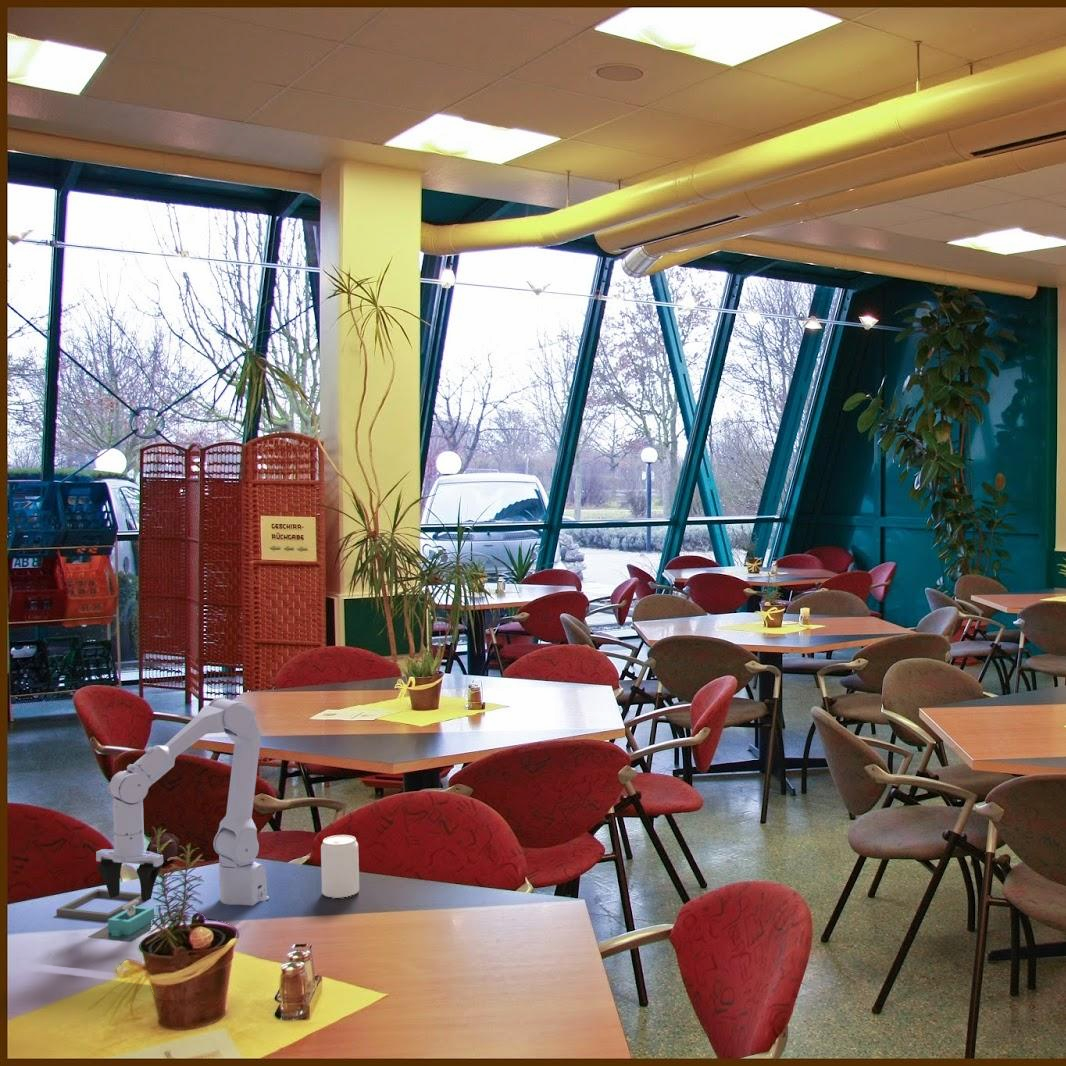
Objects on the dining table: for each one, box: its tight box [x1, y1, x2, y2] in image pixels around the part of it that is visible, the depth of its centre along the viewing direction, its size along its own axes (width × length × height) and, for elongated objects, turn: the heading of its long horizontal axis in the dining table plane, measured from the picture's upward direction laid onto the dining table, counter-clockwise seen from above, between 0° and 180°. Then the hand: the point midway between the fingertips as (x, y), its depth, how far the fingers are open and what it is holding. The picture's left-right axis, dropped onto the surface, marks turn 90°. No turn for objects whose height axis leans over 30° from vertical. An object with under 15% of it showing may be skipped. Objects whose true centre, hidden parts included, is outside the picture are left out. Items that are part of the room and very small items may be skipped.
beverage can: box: [320, 834, 360, 899], centre depth 253 cm, size 8×8×12 cm
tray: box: [55, 888, 144, 922], centre depth 244 cm, size 13×13×2 cm
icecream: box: [148, 832, 181, 864], centre depth 279 cm, size 7×7×15 cm
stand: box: [87, 900, 159, 943], centre depth 232 cm, size 10×14×6 cm
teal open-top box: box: [107, 905, 155, 936], centre depth 232 cm, size 5×9×3 cm, turn 163°
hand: (130, 898), depth 232 cm, fingers open, 7 cm apart
